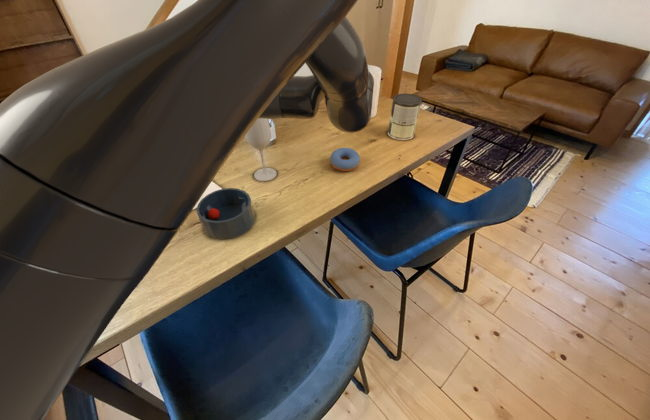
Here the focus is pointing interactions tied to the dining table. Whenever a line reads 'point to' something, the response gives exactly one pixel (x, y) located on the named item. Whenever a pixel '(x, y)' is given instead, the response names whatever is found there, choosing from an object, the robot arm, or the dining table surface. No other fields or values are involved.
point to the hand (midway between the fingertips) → (171, 92)
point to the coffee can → (404, 116)
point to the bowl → (227, 213)
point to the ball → (213, 214)
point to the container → (375, 87)
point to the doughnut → (344, 154)
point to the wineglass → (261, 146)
